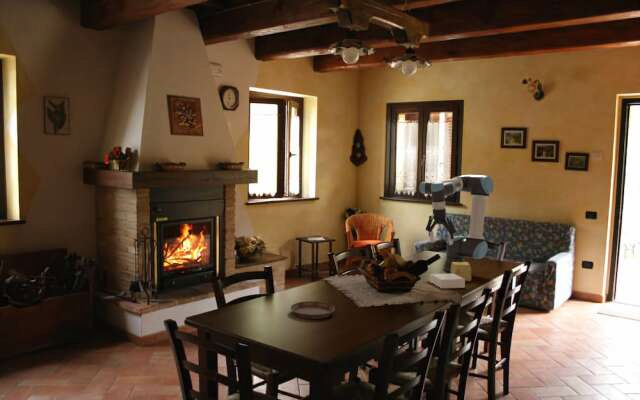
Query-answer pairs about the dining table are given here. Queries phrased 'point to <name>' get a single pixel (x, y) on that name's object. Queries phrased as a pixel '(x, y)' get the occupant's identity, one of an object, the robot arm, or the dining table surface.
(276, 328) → the dining table surface
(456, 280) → the stand
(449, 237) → the robot arm
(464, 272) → the cheese
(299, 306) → the plant saucer
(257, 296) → the dining table surface
